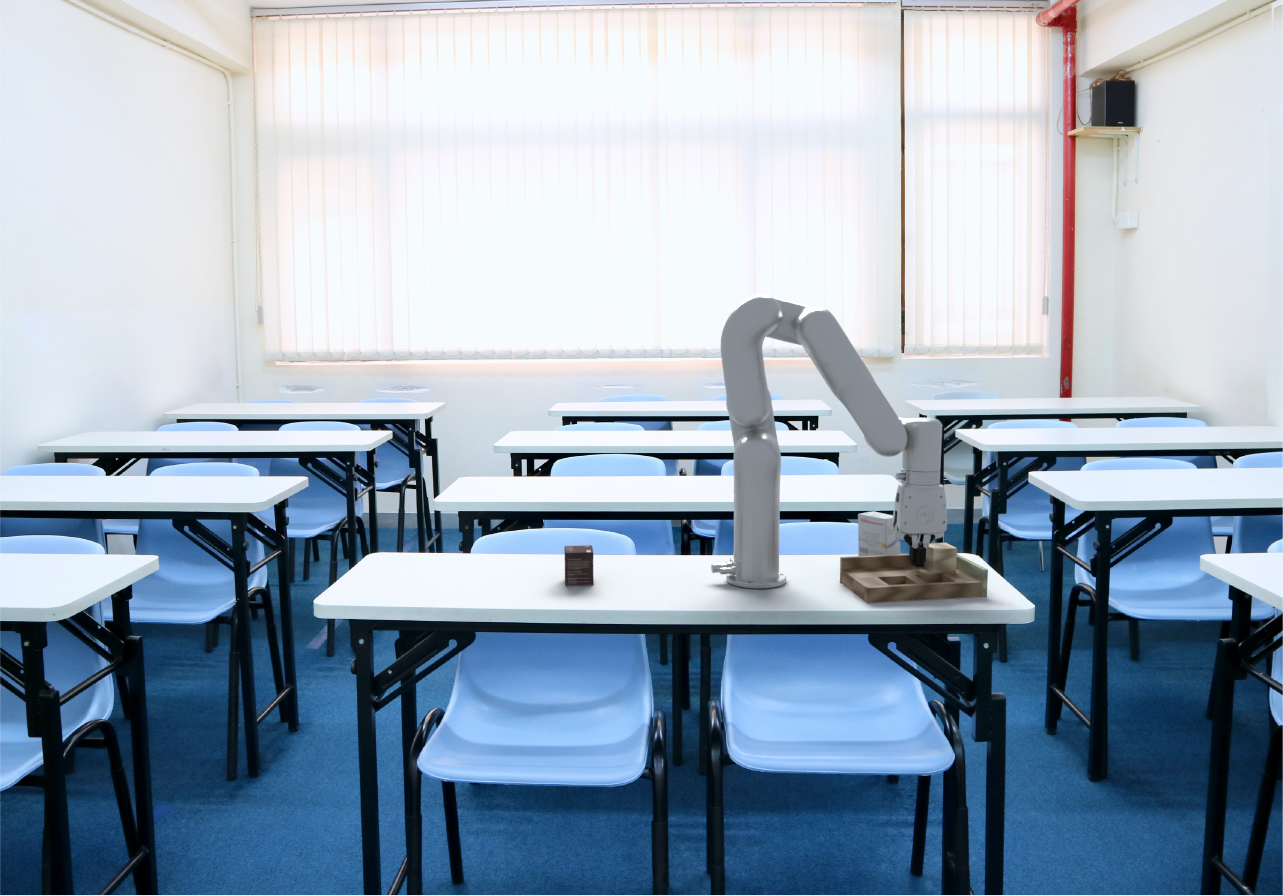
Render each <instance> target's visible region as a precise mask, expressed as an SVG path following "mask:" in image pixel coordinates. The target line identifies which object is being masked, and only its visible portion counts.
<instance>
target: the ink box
mask: <svg viewBox="0 0 1283 896" xmlns="http://www.w3.org/2000/svg"><path fill="white" fill-rule="evenodd" d="M857 523H858V525H857V531H858V533H857V536H858V539H857V541H858V542H857V543H858V544H857V545H858V549H857V550H858V555H857V556H873V555H896V554H901V539H897V538H895V537H893V532H894V527H893V514H887V513H882V512H877V511H867V512H863V513H858V514H857Z"/></svg>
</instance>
